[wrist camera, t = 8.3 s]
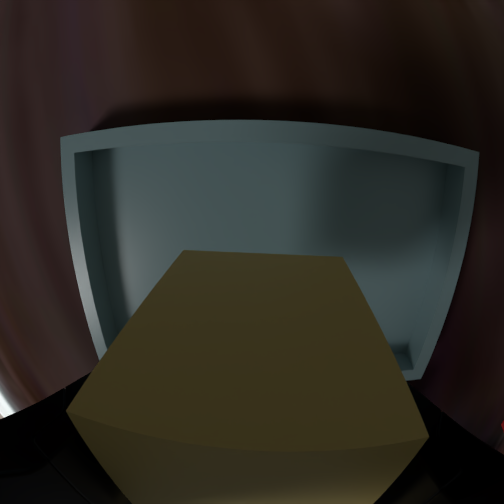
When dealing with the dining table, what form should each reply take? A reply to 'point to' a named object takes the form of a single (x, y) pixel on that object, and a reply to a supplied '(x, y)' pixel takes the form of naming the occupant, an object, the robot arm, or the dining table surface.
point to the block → (250, 388)
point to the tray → (271, 213)
